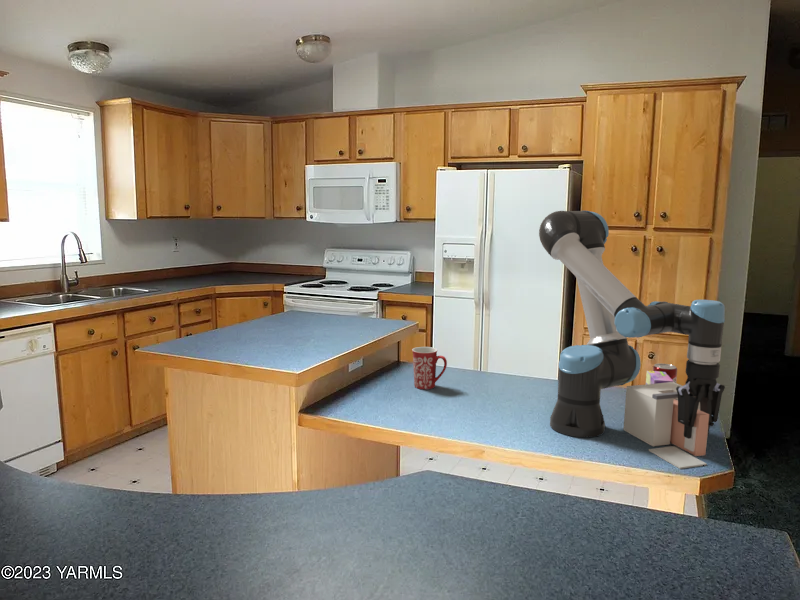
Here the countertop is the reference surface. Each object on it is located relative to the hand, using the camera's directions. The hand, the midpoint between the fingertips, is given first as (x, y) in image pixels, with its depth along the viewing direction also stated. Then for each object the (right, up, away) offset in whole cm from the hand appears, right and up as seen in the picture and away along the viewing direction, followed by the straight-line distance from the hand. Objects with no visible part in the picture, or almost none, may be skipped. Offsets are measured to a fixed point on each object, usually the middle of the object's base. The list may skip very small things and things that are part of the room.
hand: (695, 448), depth 148 cm
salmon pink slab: (-1, -1, +4) cm, 4 cm away
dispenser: (-3, +1, +12) cm, 12 cm away
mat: (-6, -2, -3) cm, 7 cm away
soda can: (+10, +5, +40) cm, 42 cm away
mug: (-67, +8, +53) cm, 85 cm away
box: (+4, +3, +30) cm, 30 cm away
